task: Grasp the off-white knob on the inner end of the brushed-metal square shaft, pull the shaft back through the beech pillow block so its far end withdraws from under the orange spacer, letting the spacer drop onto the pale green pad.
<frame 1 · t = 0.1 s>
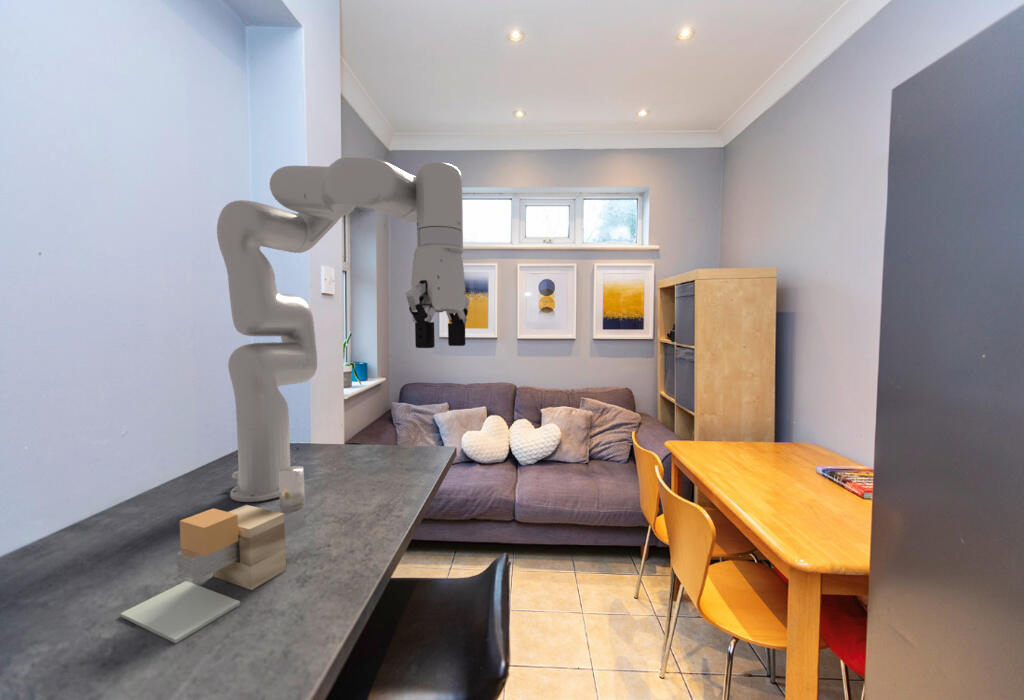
hand: (441, 346, 70), 31 cm above the counter, fingers open, 9 cm apart
pad: (181, 610, 51), on the counter
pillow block: (249, 573, 58), on the counter
spacer: (210, 544, 54), point 6 cm above the counter, touching shaft
shaft: (250, 515, 58), point 8 cm above the counter, slide at 0.0 cm, touching spacer
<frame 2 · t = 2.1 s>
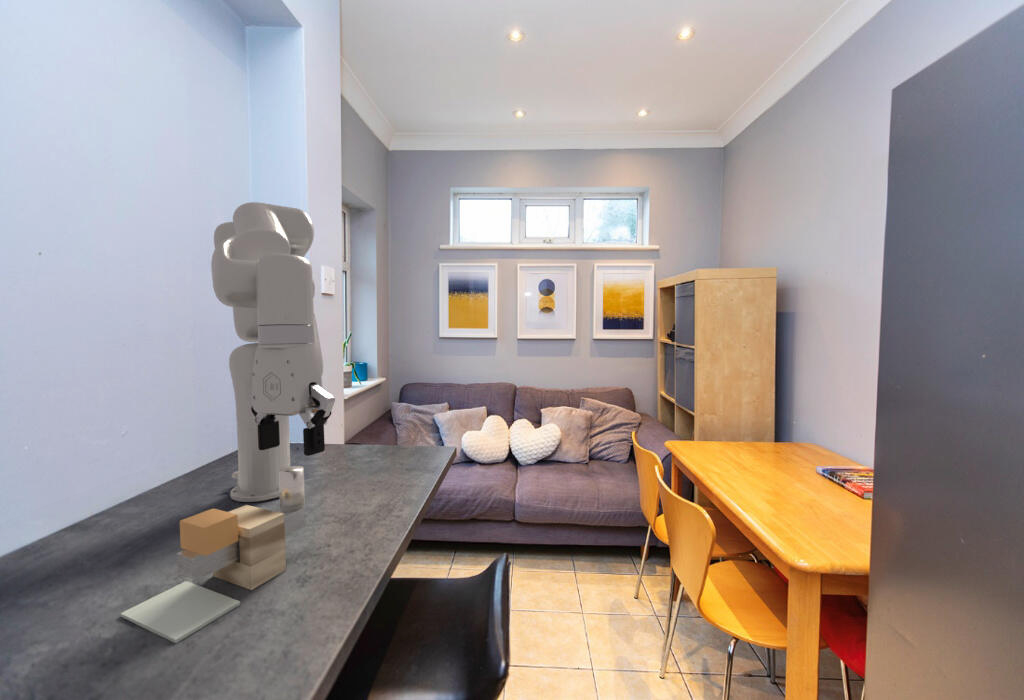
hand: (291, 450, 64), 16 cm above the counter, fingers open, 9 cm apart
nothing on the counter moved.
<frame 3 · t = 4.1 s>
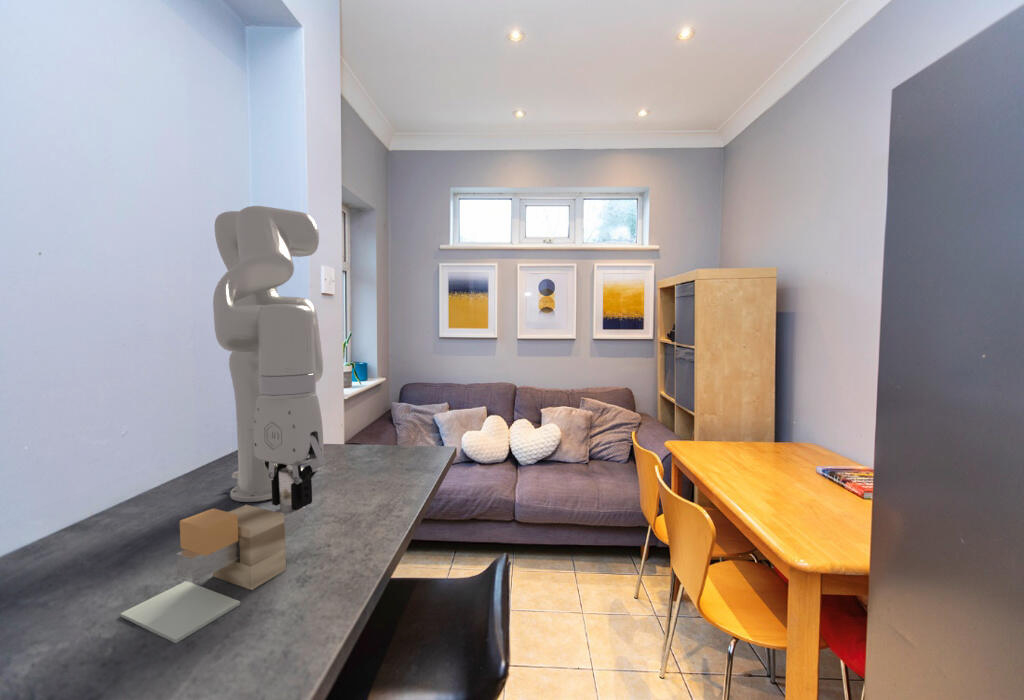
hand: (292, 503, 65), 7 cm above the counter, fingers closed on shaft, 3 cm apart
shaft: (250, 515, 58), point 8 cm above the counter, slide at 0.0 cm, touching gripper, spacer
everything else where it was.
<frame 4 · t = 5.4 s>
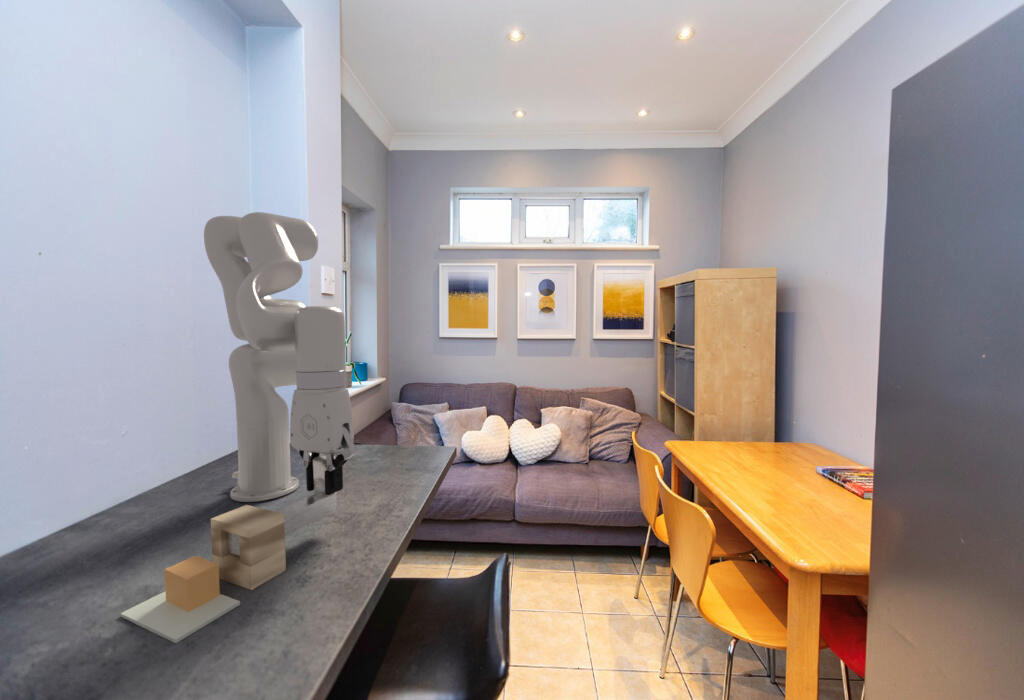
hand: (325, 489, 70), 7 cm above the counter, fingers closed on shaft, 3 cm apart
spacer: (207, 575, 54), point 2 cm above the counter, tilted 90°, touching pad
shaft: (289, 499, 64), point 8 cm above the counter, slide at 6.2 cm, touching gripper
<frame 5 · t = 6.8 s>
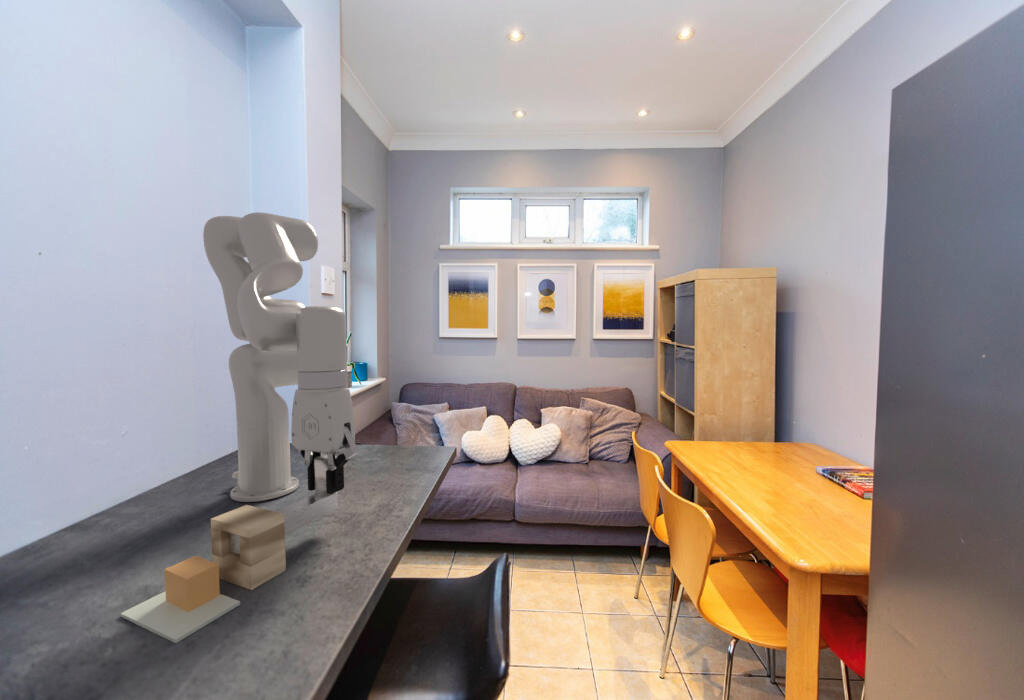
hand: (326, 488, 70), 7 cm above the counter, fingers closed on shaft, 3 cm apart
shaft: (291, 498, 64), point 8 cm above the counter, slide at 6.5 cm, touching gripper
everything else where it was.
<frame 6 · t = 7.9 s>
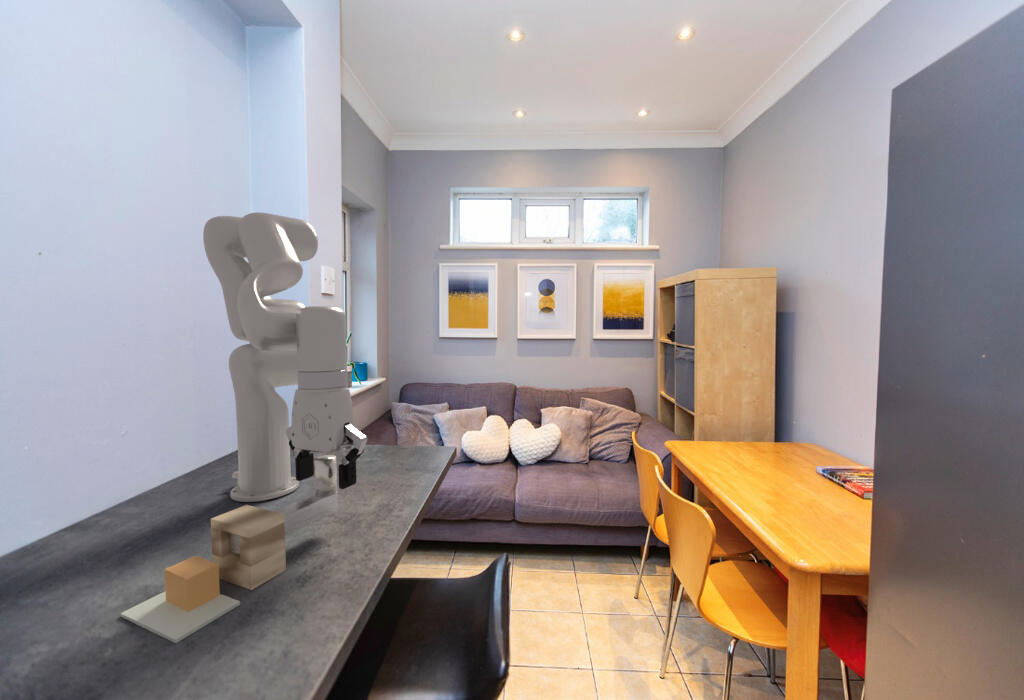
hand: (326, 482, 70), 8 cm above the counter, fingers open, 9 cm apart
shaft: (291, 498, 64), point 8 cm above the counter, slide at 6.5 cm
everything else where it was.
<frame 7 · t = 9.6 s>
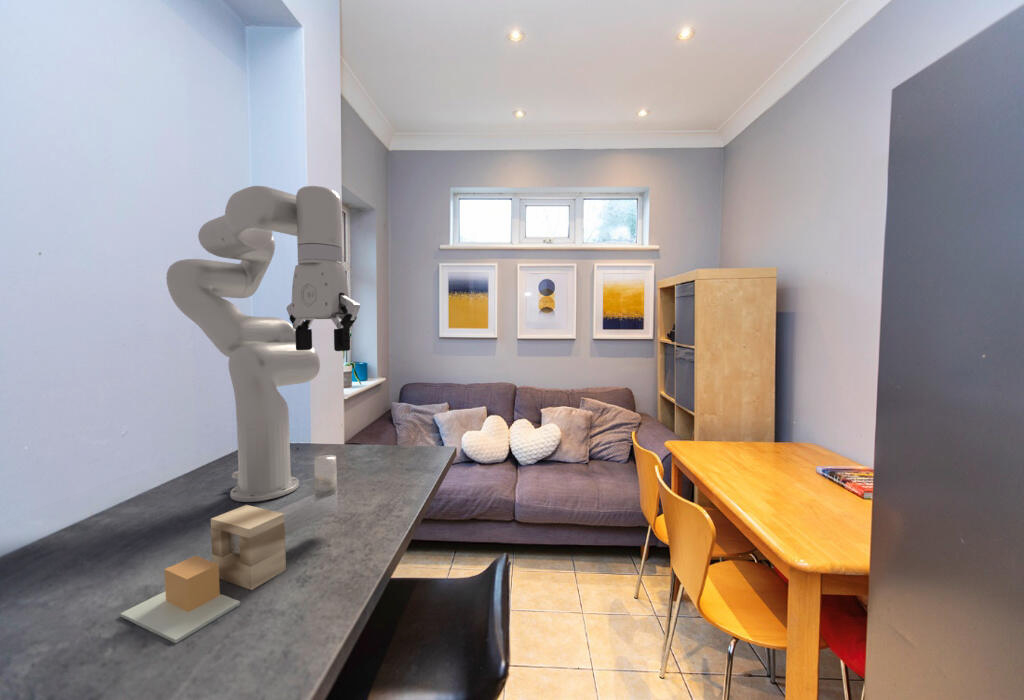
hand: (322, 350, 78), 30 cm above the counter, fingers open, 9 cm apart
nothing on the counter moved.
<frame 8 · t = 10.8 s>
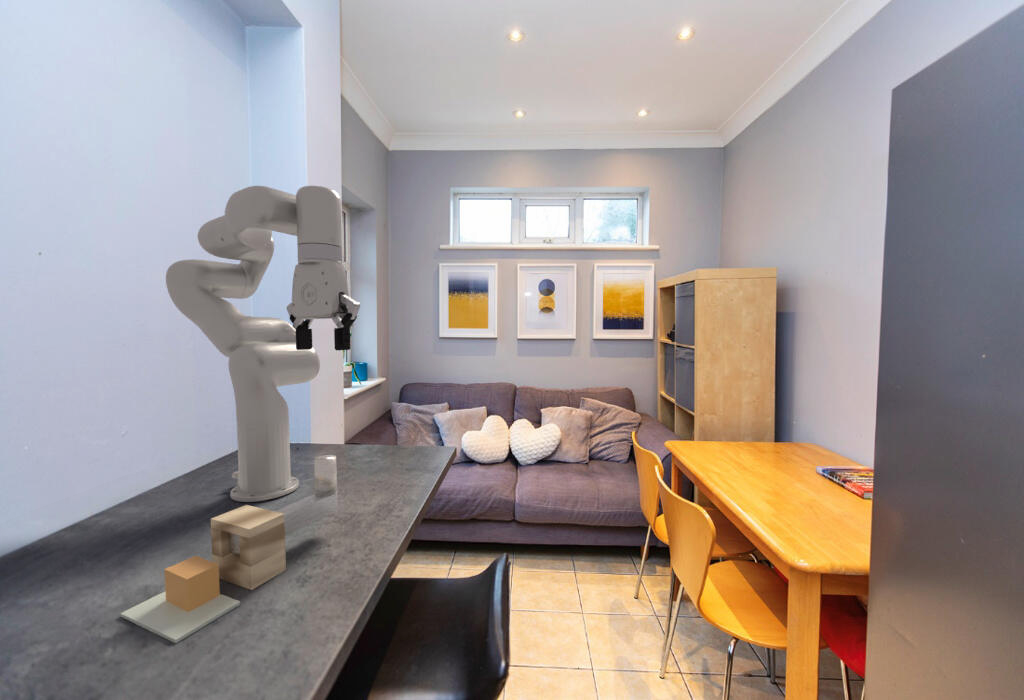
hand: (323, 349, 78), 30 cm above the counter, fingers open, 9 cm apart
nothing on the counter moved.
at the end: shaft slide at 6.5 cm; spacer point 2.4 cm above the counter; spacer touching pad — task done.
